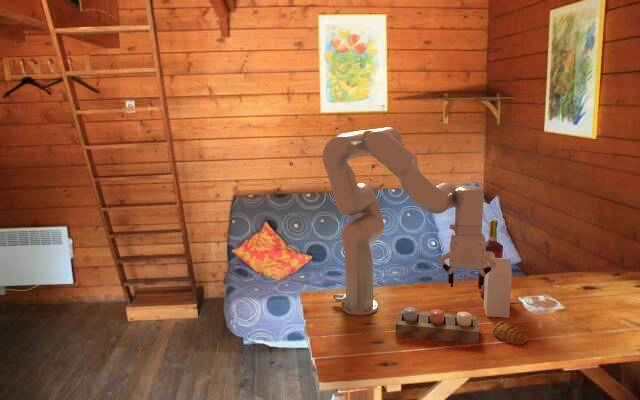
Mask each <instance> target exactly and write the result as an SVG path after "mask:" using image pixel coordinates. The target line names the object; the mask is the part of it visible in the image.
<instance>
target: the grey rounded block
mask: <svg viewBox="0 0 640 400" xmlns="http://www.w3.org/2000/svg"><path fill="white" fill-rule="evenodd" d="M403 310H404V312H403V321H408V322H417V311H418V309H417V308H415V307H411V306H410V307H409V306H408V307H405V308H403Z"/></svg>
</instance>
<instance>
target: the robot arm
mask: <svg viewBox="0 0 640 400" xmlns="http://www.w3.org/2000/svg"><path fill="white" fill-rule="evenodd" d="M402 138H403V137H402V135H401V133H400V132H399V131H398V130H397V129H396V128H393V127H382V128H381V127H380V128H375V129H373V128H372V129H367V130H357V131H351V132H346V133H341V134H338V135H336V136H334V137H331V138H330V139H329V140H328V141H327V143H326V144H325V146H324V148H323V151H322V163H323V166H324V169H325V171H326V174H327V177H328V179H329V183H330V187H331V191H332V194H333V197H334V201H335V204H336V207H337V209H338V211H339V213H340V214H341V215H342V216H343V217H353V216H355V215H356V218H354V219H352V220H350V221H348V222H347V223H346V224H345V225H344V227H343V229H342V232H341V241H342V246H343V252H344V279H345V280H344V281H345V283H344V285H345V286H344V287H345V289H344V290H345V293H333V297H332V298H333V300H334V301H335V302H336V303H341V305H340V306H341V308H340V309H341V310H342V312H344V313H346V314H347V315H348V314H349V315H352V316H368V315H372V314H374V313H375V312H377V310H378V309H379V305H378V302H377V301H376V300H374V257H373V252H372V249H371V243H373V242H375V241H376V240H378V239H379V238H380V237H382V235H383V234H384V230H385V224H384V218H383V214H382V212H381V208H380V205H379V200H378V198H377V194H376V193H375V191H374V190H373V188H372V187H371V186H369V185H368V184H366V183H361V182H359V183H358V181H357V179H356V176H355V171H354V170H353V168H352V167H351V165H350V164H349V163H348V162H349V160H352V159H356V158H359V157H365V156H372V157H373V158H374V159H375V160H377V162H379V163H380V164H381V165H383V167H384V168H386V169H387V170H388V171H390V172H391V173H392V174H393V175H394V176H396V178H398V180H399V182H400V185H401V187H402V188H403V190H404V191H405V193H406V194H407V195H408V196H409V198H411V199H412V200H413V201H414V202H415V203H416V204H417V205H418V206H420V207H421V208H422V209H423V210H425V211H426V212H428V213H431V214H434V215H439V214H443V213H445V212H446V211H447V210H449V209H452V208H455V209H454V210H455V211H454V212H455V214H454V223H452V224H449V230H453V231H452V234H451V236H450V240H449V241H450V242H449V249H448V252H446V253H445V254H443V255H442V256H440V257H439V258H438V260H437V262H438V263H439V264H440V266H441V267H442V268H443V269H444V271H445V272H447V274H448V275H447V276H448V280H447V281H448V284H450V288H453V287H454V278H455V277H454V271H455V269H463V270H464V269H465V270H478V275H477V277H478V278H477V279H478V280H477V281H478V283H477V287H478V289H479V290H480V289H481V286H482V285H483V286H484V276H485V275H486V274H487V273H488V272H490V271H491V269H493V268H494V267H495V266H496V262H495V261H494V260H493V259H492V258H490V257H489V256H488V255H487V254H486V244H485V242H486V237H485V234H484V233H483V217H484V216H483V215H484V196H485V195H484V190H483V189H482V187H479V186H476V185H475V186H474V185H462V184H461V185H460V184H457V183H452V182H441V183H440V184H438V185H436V186H435V185H434V184H433V183H432V182H431V181H429V179H427V178H426V177H425V176H424V175H423V174H422V172H421V171H420V169H419V164H418V157H417V155H416V154H415V153H413V152H412V151H411V150H410V149H409V148H407V147H406V146H405V145H403V139H402ZM447 260H448V264H449V265H448V264H447V262H445V261H447ZM486 261H487V262H489V263H490V264H489V265H488V266H486V267H485V263H486Z"/></svg>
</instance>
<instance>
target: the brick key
mask: <svg viewBox="0 0 640 400" xmlns="http://www.w3.org/2000/svg"><path fill="white" fill-rule="evenodd" d="M429 312H430V324H441V325H444V313H445V311H443V310H441V309H436V308H435V309H431V310H430V311H429Z"/></svg>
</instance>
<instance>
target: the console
mask: <svg viewBox="0 0 640 400" xmlns="http://www.w3.org/2000/svg"><path fill="white" fill-rule="evenodd" d="M403 312H404V309H398V311H397V317H396V321H395V337H399V336H402V338H410V339H421V340H430V341H441V342H442V341H443V342H450V343H451V342H453V343H461V344H462V343H464V344H473V345H474V344H475V345H479V340H480V339H479V338H480V329H479V322H478V316H477V315H472V318H471V327H464V326H457V313H456V314H455V313H445V312H444V325H441V324H430V311H424V310H423V311H422V310H421V311H419V310H417V322H408V321H403Z"/></svg>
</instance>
